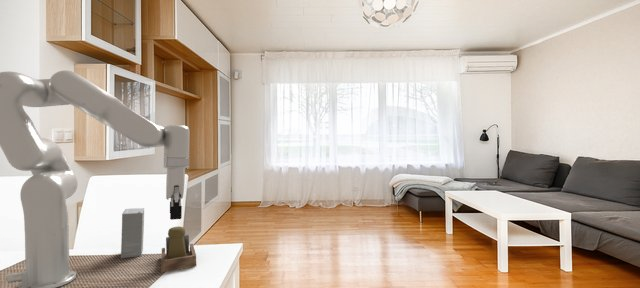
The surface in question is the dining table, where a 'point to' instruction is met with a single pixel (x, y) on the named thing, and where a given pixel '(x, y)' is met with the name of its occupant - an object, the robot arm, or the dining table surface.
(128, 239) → the skincare box
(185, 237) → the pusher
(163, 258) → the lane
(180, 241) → the cork
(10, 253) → the dining table surface
